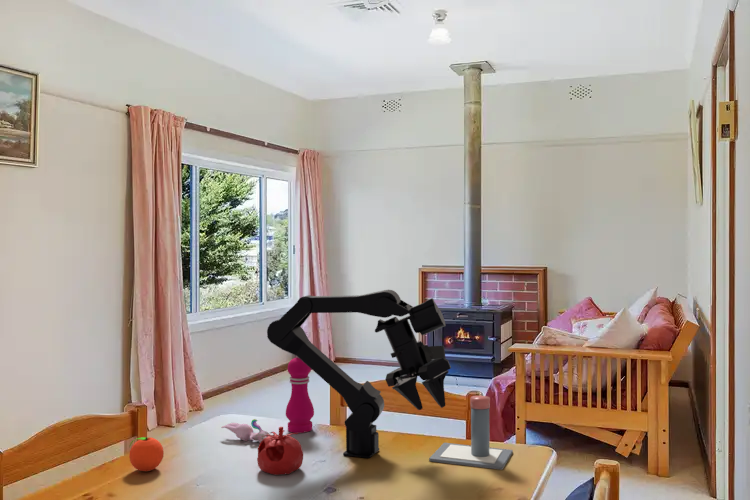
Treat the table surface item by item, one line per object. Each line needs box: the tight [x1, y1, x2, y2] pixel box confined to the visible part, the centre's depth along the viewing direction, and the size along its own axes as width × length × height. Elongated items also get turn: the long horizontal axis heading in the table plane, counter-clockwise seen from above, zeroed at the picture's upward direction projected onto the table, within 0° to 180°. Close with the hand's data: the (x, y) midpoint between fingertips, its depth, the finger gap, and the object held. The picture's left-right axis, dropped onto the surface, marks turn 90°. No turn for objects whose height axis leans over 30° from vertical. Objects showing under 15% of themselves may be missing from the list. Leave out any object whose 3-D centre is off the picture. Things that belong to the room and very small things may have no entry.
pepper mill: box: [285, 355, 315, 434], centre depth 173 cm, size 7×7×20 cm
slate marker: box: [470, 395, 491, 457], centre depth 150 cm, size 4×4×12 cm
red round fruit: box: [256, 426, 304, 476], centre depth 143 cm, size 10×10×9 cm
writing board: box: [428, 442, 513, 471], centre depth 151 cm, size 16×12×1 cm
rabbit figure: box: [220, 418, 274, 444], centre depth 164 cm, size 6×6×15 cm
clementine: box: [129, 436, 164, 472], centre depth 144 cm, size 8×7×7 cm
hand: (431, 408), depth 151 cm, fingers open, 9 cm apart
